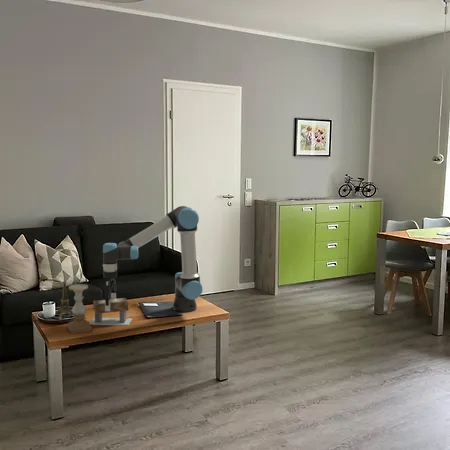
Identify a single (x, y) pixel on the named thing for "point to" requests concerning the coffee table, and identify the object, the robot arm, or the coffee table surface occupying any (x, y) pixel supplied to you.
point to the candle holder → (78, 311)
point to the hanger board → (111, 320)
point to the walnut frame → (111, 305)
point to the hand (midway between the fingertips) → (110, 307)
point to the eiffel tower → (64, 301)
